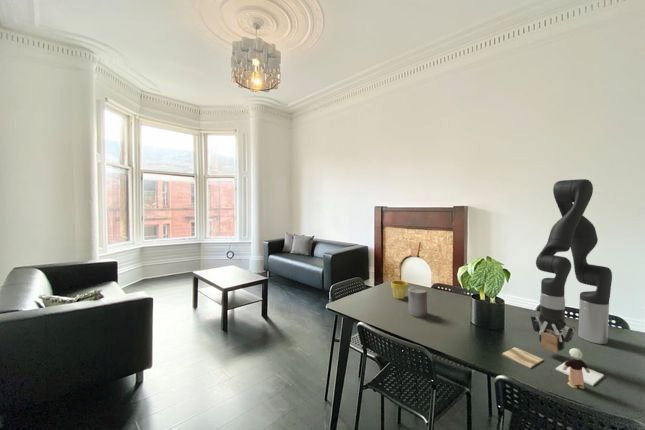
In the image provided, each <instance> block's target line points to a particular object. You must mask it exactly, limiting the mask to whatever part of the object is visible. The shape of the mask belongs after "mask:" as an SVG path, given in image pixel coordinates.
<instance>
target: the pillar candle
mask: <svg viewBox="0 0 645 430" xmlns="http://www.w3.org/2000/svg"><path fill="white" fill-rule="evenodd" d="M407 290H408V314H409V315H410V316H412V317H415V318H425V317H427V316H428V291H427V289H426V288H424V287H418V286H411V287H408V288H407Z"/></svg>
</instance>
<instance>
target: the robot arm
mask: <svg viewBox="0 0 645 430" xmlns="http://www.w3.org/2000/svg"><path fill="white" fill-rule="evenodd" d="M552 190H553V198H554V200H555V203H556V205H557V208H558V210H559V213H560V215H561V218H559V220H557V221H556V222H555V223H554V224H553V226H552V227H551V229H550V232H549V235H548V239H547V242H546V244H545V245H544V247H543V248H542V250H541V252H539V253H538V256H537V257H536V260H535V265H536V268H537V269H538V270H539V271H541V272H545V273H550V274H554V275H555V276H554V277H545V278H544V277H543V278H542V279H541V282H540V283H541V286H540V298H539V316H537V315H535V314H533V315H532V316H530V321H531V324H532V325H531V326H532V329H533V331H534V332H537V333H538V334H539V342H540V343H541V333H542V332H544V331H546V330H550V331H553V332H555V334H556V336H557V337H558V340H559V341H558V350H560V351H559V352H561V351H564V349H565V345H566V344H565V343H569V342H571V341H572V339H573V336H574V333H575V331H576V328H575V327H574V326H569V325H567V323H566V321H565V319H566V318H565V317H566V299H565V285H566V284H567V283H566V282H567V280H568V276H569V275H570V272H571V270H572V263H571V261H570V259H569V258H568V257H566V256H560V255H559V256H558V255H556V254H557V253H561V252H562V253H563V252H564V253H565V252H569V251H571V256H572V259H573V268H574V274H575V278H576V280H577V282H579V283H580V284H583V285H588V286H592V287H596V289H595V290H591V291H589V290H588V291H581V292H580V294H579V309H578V312H579V313H578V334H577V335H578V337H579V338H581V339H582V340H585V341H586V342H591V343H594V344H601V345H605V344H608V339H609V338H608V337H609V315H610V298H611V291H612V284H613V283H612V281H613V272H612V270H611V268H609V267H607V266H604V265H597V264H590V263H588V262H587V261H588V260H587V258H588V256H589V254H590V253H591V252H592V251H593V250H594V248H596V245H598V241H599V240H598V236H597V235H598V234H597V230H596V227H595V226H594V224H593V223H592V221H590V220H589V219H588V218H587V217H586V216H584V213H585V211H586V210H587V207H588V205H589V202H590V200H592V196H593V193H594V192H593V191H594V187H593V182H592V181H591V180H589V179H587V178H586V179H585V178H584V179H582V178H581V179H564V180H558V181H556V182H555V183H554V184H553V189H552ZM539 321H540V323H541V324H542V325H541V327H540V324H539ZM564 329H565V331H566V335H565V334H564Z"/></svg>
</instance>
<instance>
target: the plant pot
mask: <svg viewBox="0 0 645 430" xmlns="http://www.w3.org/2000/svg"><path fill="white" fill-rule="evenodd" d="M408 286H409V285H408V282H407V281H406V280H405V281H404V280H398V279H397V280H395V279H394V280H392V281H390V287H391V290H392V293H393V298H394V299H397V300H403V299H405V296H406V292H407V290H408V289H409V287H408Z"/></svg>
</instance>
